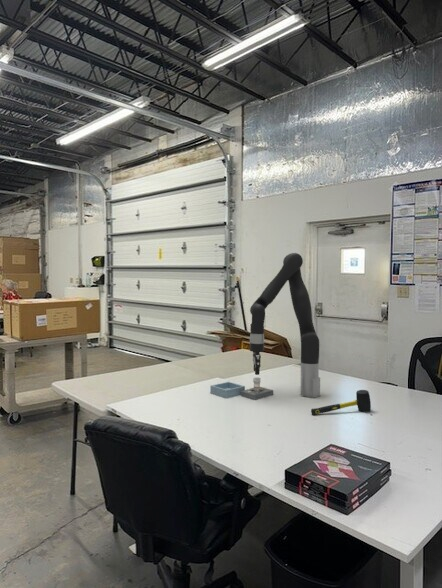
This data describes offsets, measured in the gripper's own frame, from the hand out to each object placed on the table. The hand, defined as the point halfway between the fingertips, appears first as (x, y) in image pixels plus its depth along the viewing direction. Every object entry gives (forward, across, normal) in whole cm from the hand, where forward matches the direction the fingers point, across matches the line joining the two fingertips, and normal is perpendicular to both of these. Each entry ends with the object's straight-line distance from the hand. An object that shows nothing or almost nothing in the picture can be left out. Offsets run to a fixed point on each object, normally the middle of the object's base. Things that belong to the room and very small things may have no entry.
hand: (256, 372), depth 215 cm
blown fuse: (+12, 0, 0) cm, 12 cm away
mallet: (+12, -29, -36) cm, 48 cm away
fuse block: (+12, 0, 0) cm, 12 cm away
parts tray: (+12, +4, +15) cm, 20 cm away
